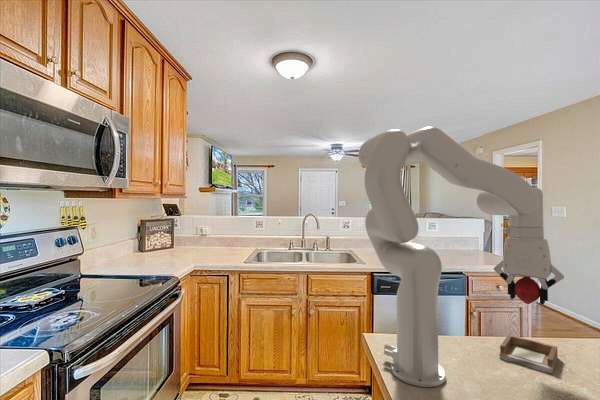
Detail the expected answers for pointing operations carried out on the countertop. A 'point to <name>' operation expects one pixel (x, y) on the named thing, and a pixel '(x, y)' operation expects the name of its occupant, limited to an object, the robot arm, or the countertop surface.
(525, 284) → the onion
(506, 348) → the tray
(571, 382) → the countertop surface
